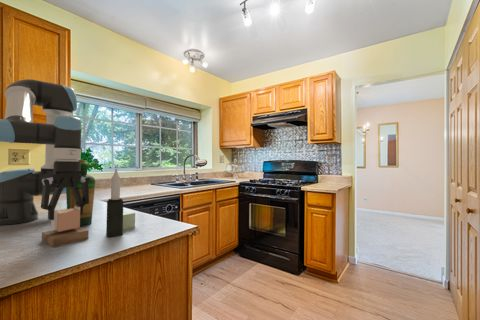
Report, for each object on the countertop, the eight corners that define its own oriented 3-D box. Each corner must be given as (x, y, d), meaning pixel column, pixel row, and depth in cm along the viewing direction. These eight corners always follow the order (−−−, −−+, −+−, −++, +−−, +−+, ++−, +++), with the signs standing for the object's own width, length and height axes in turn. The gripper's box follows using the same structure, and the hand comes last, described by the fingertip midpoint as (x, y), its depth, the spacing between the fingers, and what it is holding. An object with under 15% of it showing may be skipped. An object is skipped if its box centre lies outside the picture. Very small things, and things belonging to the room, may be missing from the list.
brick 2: (112, 227, 93) (113, 213, 93) (126, 224, 98) (127, 211, 98) (121, 230, 90) (121, 215, 90) (134, 226, 95) (135, 212, 95)
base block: (41, 241, 76) (41, 232, 76) (75, 233, 85) (75, 225, 85) (53, 247, 71) (53, 238, 71) (88, 238, 80) (88, 230, 80)
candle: (105, 233, 85) (107, 168, 85) (120, 231, 88) (122, 168, 88) (107, 237, 81) (109, 168, 81) (123, 235, 84) (124, 168, 84)
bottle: (78, 229, 90) (80, 160, 90) (57, 226, 92) (59, 159, 93) (100, 222, 100) (102, 160, 101) (81, 220, 103) (83, 159, 103)
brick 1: (51, 228, 77) (52, 211, 77) (72, 224, 82) (72, 208, 82) (59, 231, 74) (59, 213, 74) (79, 227, 79) (80, 210, 79)
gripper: (36, 160, 68) (34, 236, 68) (101, 161, 84) (100, 222, 84) (27, 160, 72) (25, 231, 72) (91, 161, 88) (90, 219, 88)
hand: (65, 226), depth 78 cm, fingers closed on brick 1, 6 cm apart
